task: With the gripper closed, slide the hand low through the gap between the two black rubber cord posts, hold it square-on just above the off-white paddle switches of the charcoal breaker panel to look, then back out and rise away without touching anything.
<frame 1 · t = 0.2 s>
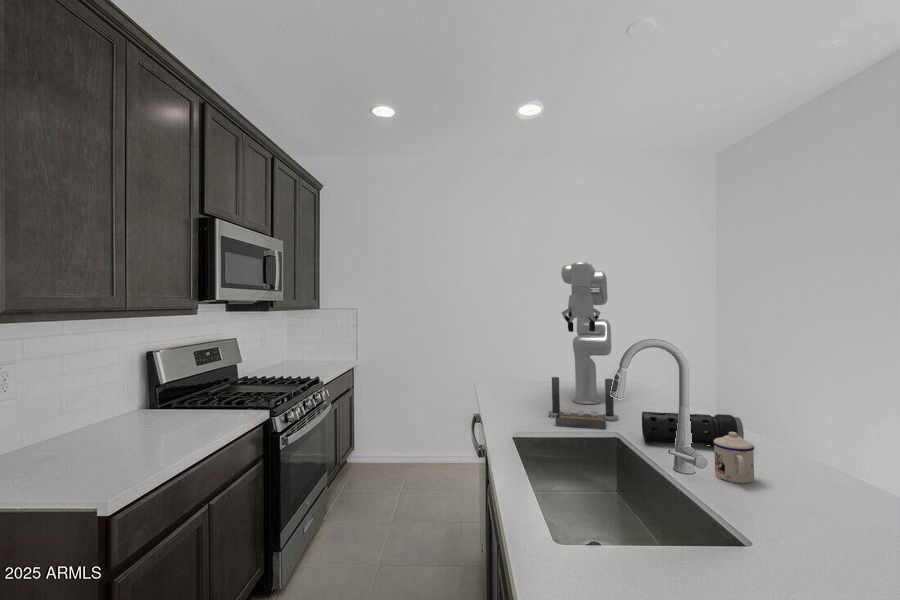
hand: (581, 331, 190), 35 cm above the worktop, tool pointing down, fingers open, 9 cm apart
cord post 1: (556, 416, 186), on the worktop
teacup with lid: (736, 480, 115), on the worktop
breaker panel: (580, 424, 172), on the worktop
cord post 2: (609, 419, 179), on the worktop
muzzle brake: (690, 446, 144), on the worktop
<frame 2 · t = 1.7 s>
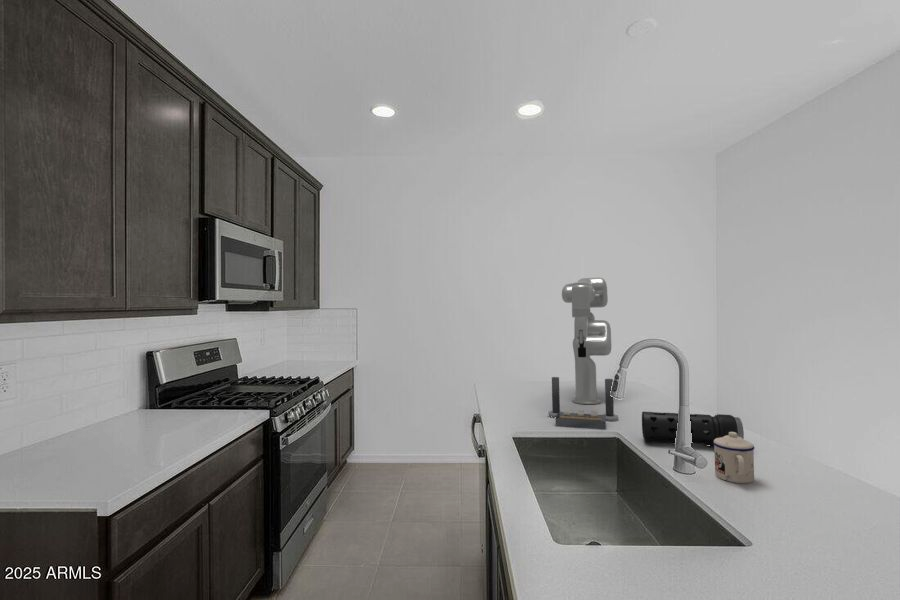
hand: (582, 356, 190), 24 cm above the worktop, tool pointing down, fingers closed
nothing on the worktop moved.
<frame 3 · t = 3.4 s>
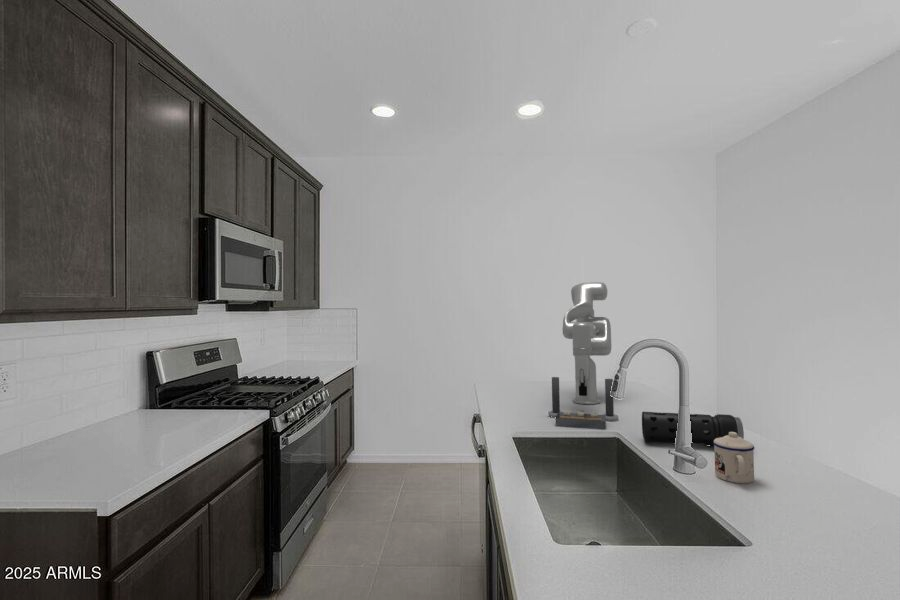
hand: (583, 395, 190), 8 cm above the worktop, tool pointing down, fingers closed
nothing on the worktop moved.
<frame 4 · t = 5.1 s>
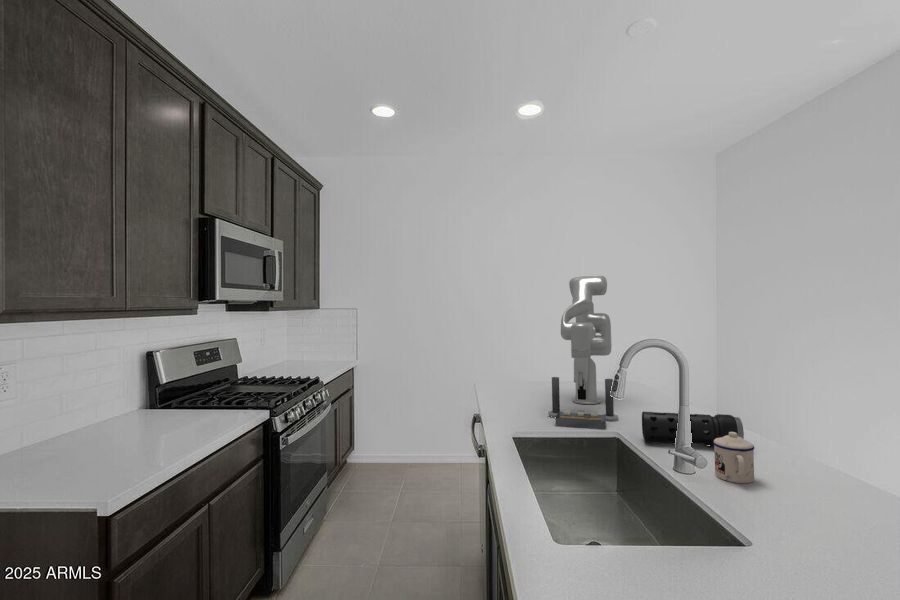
hand: (581, 399, 182), 8 cm above the worktop, tool pointing down, fingers closed
nothing on the worktop moved.
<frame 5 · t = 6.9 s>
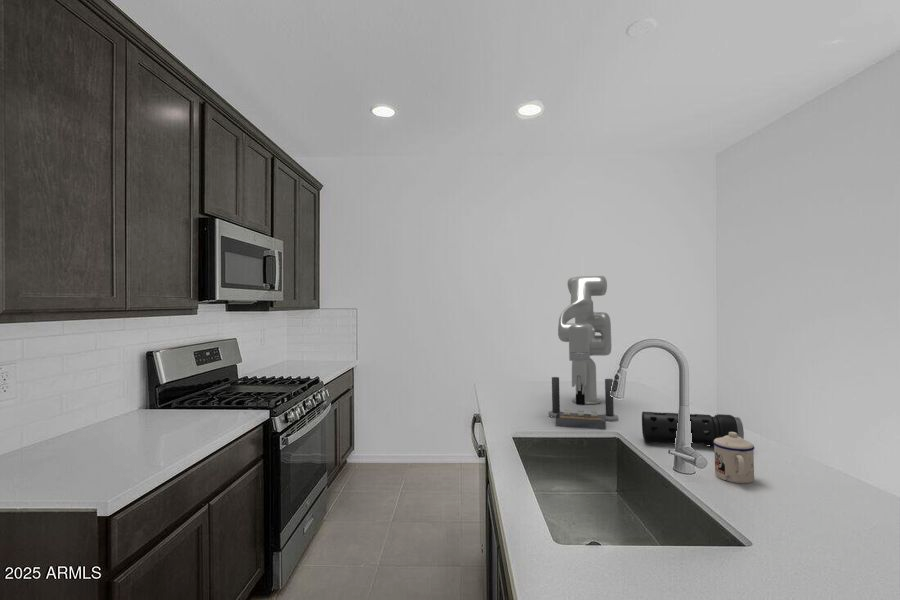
hand: (580, 404, 172), 8 cm above the worktop, tool pointing down, fingers closed
nothing on the worktop moved.
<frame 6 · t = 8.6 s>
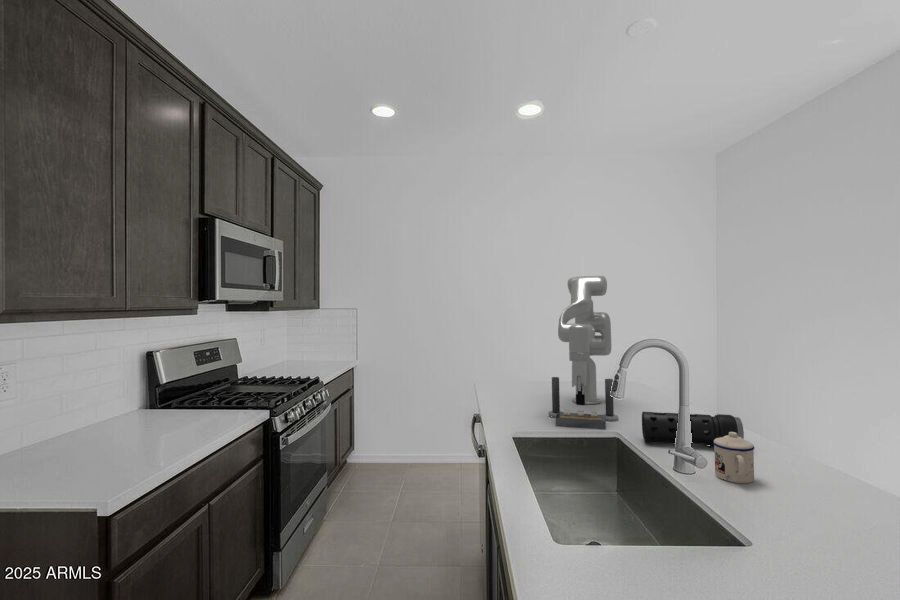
hand: (580, 404, 173), 8 cm above the worktop, tool pointing down, fingers closed
nothing on the worktop moved.
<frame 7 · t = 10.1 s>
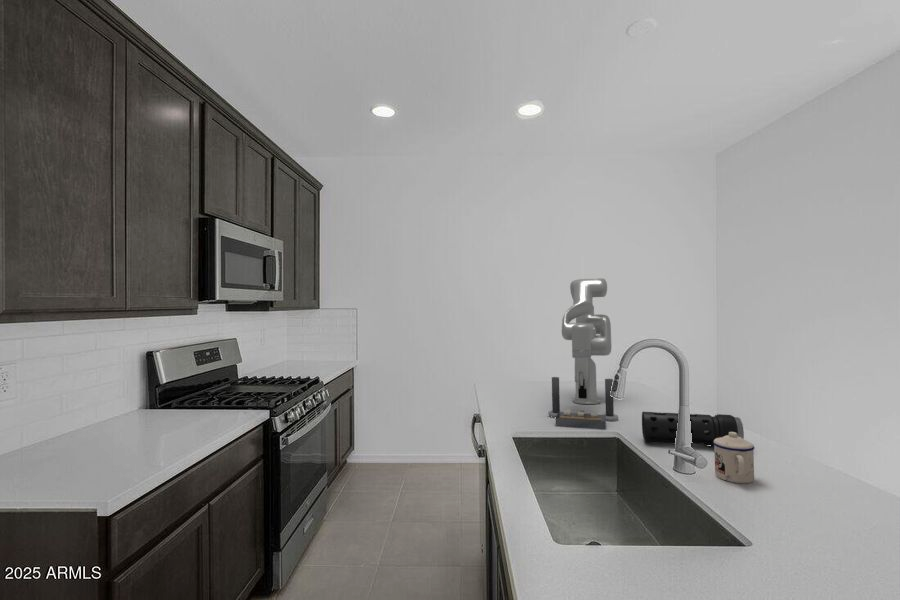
hand: (582, 398, 187), 7 cm above the worktop, tool pointing down, fingers closed
nothing on the worktop moved.
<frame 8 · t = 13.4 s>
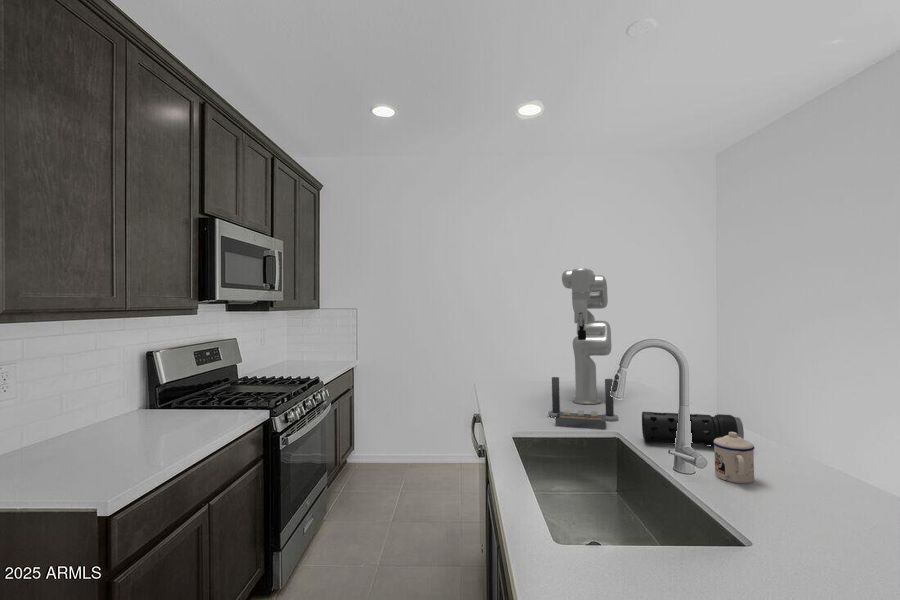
hand: (582, 339, 193), 31 cm above the worktop, tool pointing down, fingers closed
nothing on the worktop moved.
at the end: cord post 2 moved 0.0 cm from its start; cord post 1 moved 0.0 cm from its start; cord post 2 tilted 0° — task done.
